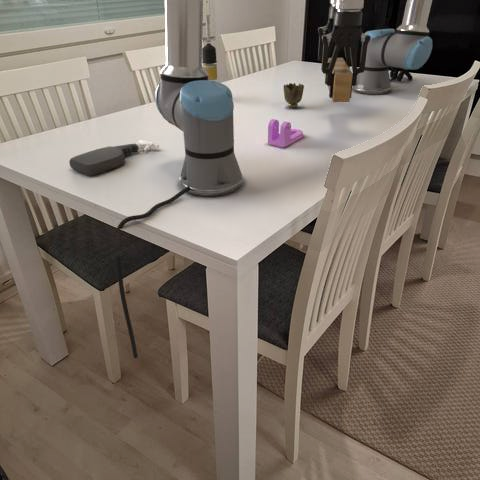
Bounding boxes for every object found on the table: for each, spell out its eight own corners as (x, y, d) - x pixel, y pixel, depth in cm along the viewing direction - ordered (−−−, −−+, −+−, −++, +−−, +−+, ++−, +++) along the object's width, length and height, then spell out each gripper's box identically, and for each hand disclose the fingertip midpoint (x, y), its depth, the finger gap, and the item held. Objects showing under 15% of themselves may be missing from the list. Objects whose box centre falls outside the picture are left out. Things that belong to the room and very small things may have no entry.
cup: (279, 108, 165) (280, 86, 160) (287, 103, 170) (288, 82, 166) (298, 111, 162) (299, 88, 157) (305, 105, 167) (307, 83, 163)
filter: (220, 99, 177) (217, 15, 161) (206, 100, 176) (202, 16, 160) (215, 96, 182) (212, 14, 166) (202, 97, 180) (197, 14, 164)
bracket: (283, 147, 130) (284, 124, 126) (267, 143, 133) (268, 120, 129) (305, 135, 139) (307, 113, 135) (290, 132, 142) (291, 110, 138)
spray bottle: (67, 168, 120) (139, 144, 136) (91, 178, 114) (163, 151, 130) (65, 157, 118) (137, 134, 134) (89, 167, 112) (162, 142, 128)
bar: (349, 102, 131) (352, 74, 127) (333, 102, 131) (335, 74, 127) (340, 82, 152) (342, 57, 148) (326, 82, 153) (328, 57, 148)
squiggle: (400, 92, 202) (376, 71, 205) (417, 76, 202) (392, 56, 205) (405, 81, 191) (380, 59, 194) (423, 64, 191) (397, 42, 194)
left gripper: (379, 8, 125) (368, 93, 137) (314, 9, 126) (309, 93, 138) (384, 11, 118) (372, 100, 131) (316, 11, 120) (310, 99, 132)
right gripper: (369, 3, 139) (360, 81, 151) (311, 4, 140) (307, 81, 152) (373, 5, 132) (363, 86, 145) (313, 6, 134) (308, 86, 146)
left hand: (339, 96), depth 134 cm, fingers closed on bar, 5 cm apart
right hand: (334, 83), depth 149 cm, fingers closed on bar, 5 cm apart
